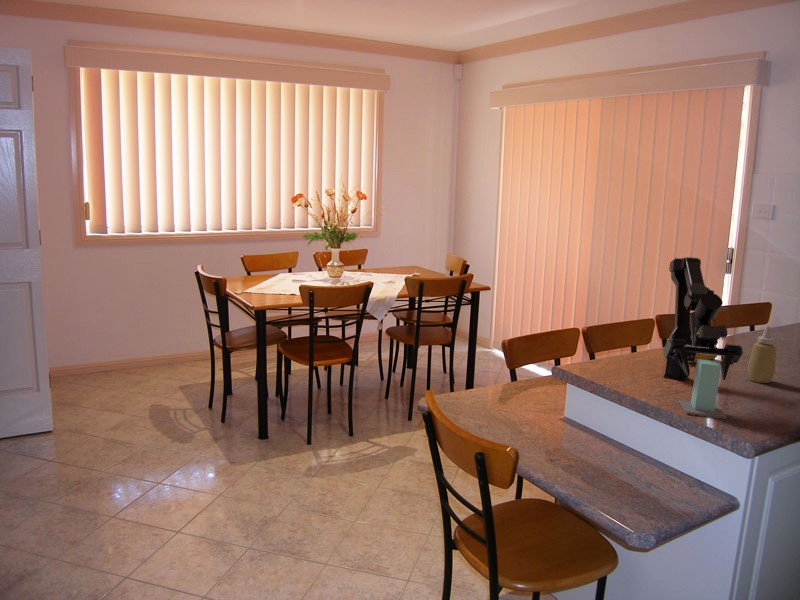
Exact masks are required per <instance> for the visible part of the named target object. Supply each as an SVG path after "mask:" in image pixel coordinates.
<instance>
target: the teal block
mask: <svg viewBox="0 0 800 600" xmlns="http://www.w3.org/2000/svg"><path fill="white" fill-rule="evenodd" d="M695 365H696V366H695V373H694V380H693V385H692V386H693V387H692V393H691V400H690V401H691V405H692V406H693V408H694V409H695V410H702V411H710V412H714V411H715V405H717V396H718V391H719V390H718V389H719V384H720V377H721V373H722V371H721V363H719V361H718V360H714V359H711V360H703V359H697V362H696V363H695Z"/></svg>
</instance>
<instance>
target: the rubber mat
mask: <svg viewBox="0 0 800 600" xmlns="http://www.w3.org/2000/svg"><path fill="white" fill-rule="evenodd" d="M678 402H679V403H680V404H679V403H678V404H679V406H680V405H681V406H682V407H681V406H680V407H681V409H682V408H683V409H682V410H683V412H684V411H685V412H686V413H685V412H684V413H685V415H686V414H691V415H690V416H695V415H699V416H698V417H704V416H705V417H706V418H712V417H714V418H713V419H721V418H723V419H722V420H727V415H726V414H725V413H724V411H723V410H722V409H721V408H720V407H719V406H718V404H716V405H715V411H714V412H710V411H702V410H695V409H694V408H693V406H692V405H691V400H681V399H679V400H678Z"/></svg>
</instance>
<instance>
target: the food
mask: <svg viewBox="0 0 800 600" xmlns="http://www.w3.org/2000/svg"><path fill="white" fill-rule="evenodd" d="M715 348H718V347H717V345H715ZM717 357H718V355H708V354H699V353H696V356H695V359H694V362H692V361H689V364H694V363H695V364H697V359H703V360H714V359H716V358H717Z"/></svg>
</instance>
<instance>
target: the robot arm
mask: <svg viewBox="0 0 800 600" xmlns="http://www.w3.org/2000/svg"><path fill="white" fill-rule="evenodd" d="M701 266H702V261H701V259H700V258H698V257H689V256H687V257H686V256H685V257H682V258H679V257H675V258H674V259H672V260H671V261H670V263H669V272H670V278H671V281H672V282H673V284H674V285H675V302H674V303H675V304H674V305H675V306H674V328H673V330H672V332H671V333H670V335H669V336H668V340H667V341H666V343H665V346H664V348H663V353H662V355H663V357H664V359H666V363H665V370H664V374H663V378H666V379H667V378H668V379H673V380H678V381H686V380H687V379H688V378H689V377H690V371H691V363H689V361H692V362H694V359H695V356H696V353H699V354H708V355H717V357H718V356H719V357H720V358H721V362H720V365H721V379H722V380H723V381H725V380H726V378H727V375H728V372H729V371H728V370H729V369H730V366H733V364H736V363H738V362H739V360H740V358H741V357H742V355H743V354H744V351H743V350H744V349H743V347H742V346H741V345H740V344H732V343H731V344H730V343H726V344H725V346H724V348H720V347H719V348H718V347H717V348H715V346H718V343H719V341H718V340H720V339H725V338H726V337H728V327H727V325H722V324H720V325H717V326H713V325H714V324H713V320H715V319H716V318H717V316H718V313H719V311H720V310H721V308H722V306H723V300H722V298H721V297H720V296H719V295H717V294H715V291H714V290H711V288H709V287H707V286H706V284H705V281H704V277H703V273H702V269H701V268H702V267H701Z"/></svg>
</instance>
